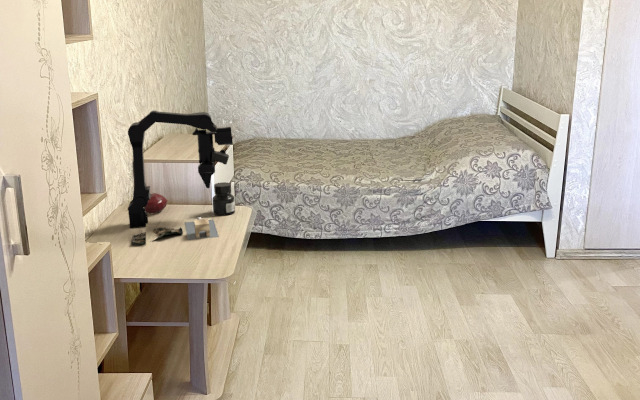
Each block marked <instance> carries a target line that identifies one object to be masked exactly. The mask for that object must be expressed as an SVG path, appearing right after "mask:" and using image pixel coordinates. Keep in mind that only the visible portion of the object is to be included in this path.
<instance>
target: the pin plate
mask: <svg viewBox="0 0 640 400" xmlns="http://www.w3.org/2000/svg"><path fill="white" fill-rule="evenodd" d="M200 219H202V217H201V216H200V217H199V216H198V217H196V220H200ZM208 221H209V226H210V237H207V236H206V232H205V231H200V232H199V237H200V238H196V235H195V226H194V220H193V221H185V222H184V225H185V232H186V238H187V241H193V240H194V241H195V240H203V239H213V238H219V236H220V235H219V234H218V230H217V227H216V224H215V221H214V219H208Z"/></svg>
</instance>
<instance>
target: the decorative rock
mask: <svg viewBox="0 0 640 400" xmlns="http://www.w3.org/2000/svg"><path fill="white" fill-rule="evenodd" d="M153 233H155V235H156V234H157V235H159V236H157V237H156V238H155V239H153V240H151V241H150V242H155V241H157V240H158V239H161V238H163V237H164V236H168V235H169V236H170V235H174V234H178V235H179V234H180V235H183V233H184V232H183V228H182V227H179V228H178V229H177V228H176V229H175V228H170V227H162V226H160V227H158V228H154V229H153ZM132 239H133V240H132V241H131V245H135V246H136V245H139V246H141V245H145V244H147V231H144V232H140V233H139V234H134V235H133V236H132Z"/></svg>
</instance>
